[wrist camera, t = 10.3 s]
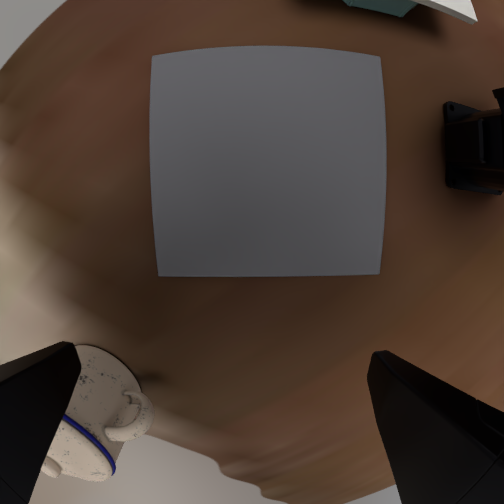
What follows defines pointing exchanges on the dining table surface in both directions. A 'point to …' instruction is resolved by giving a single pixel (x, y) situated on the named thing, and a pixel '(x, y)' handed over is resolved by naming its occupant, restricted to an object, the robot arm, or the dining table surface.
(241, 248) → the mat
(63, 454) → the teacup with lid
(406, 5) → the bowl
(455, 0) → the lid
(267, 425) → the dining table surface
